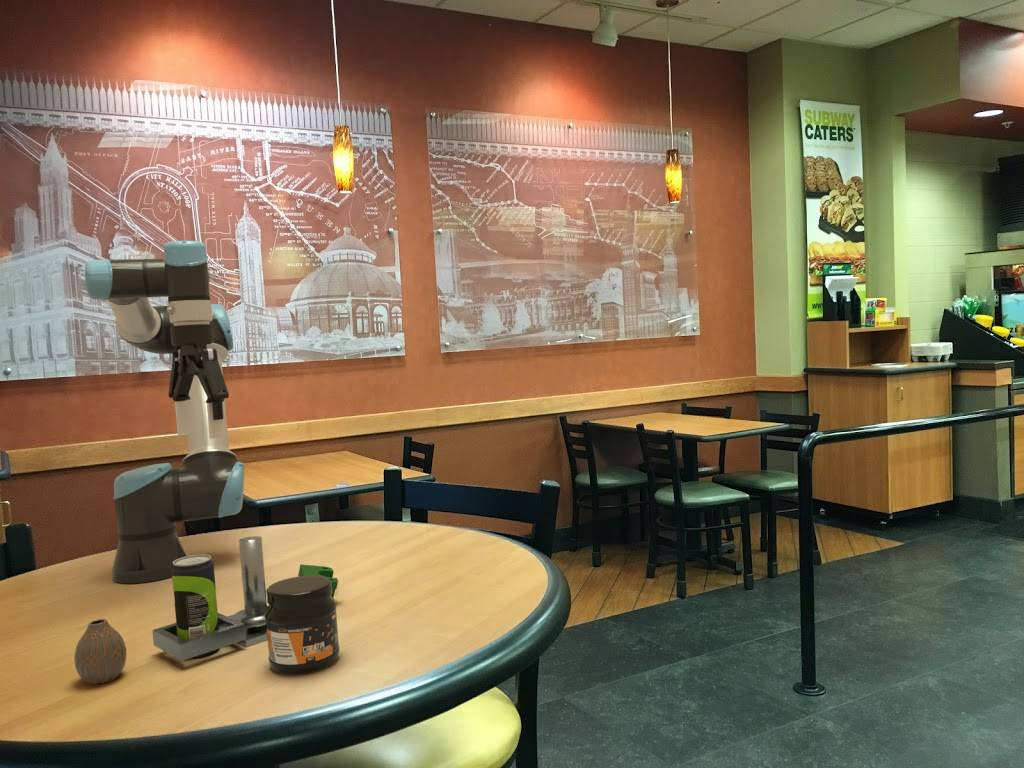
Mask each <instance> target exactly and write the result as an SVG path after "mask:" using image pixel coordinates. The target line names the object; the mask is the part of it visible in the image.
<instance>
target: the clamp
mask: <svg viewBox="0 0 1024 768" xmlns="http://www.w3.org/2000/svg"><path fill="white" fill-rule="evenodd" d="M297 575H298V576H297V577H299V576H322V577H326V578H328V579H330V580H331V583H332V595H331V596H332V597H333V598H334V597H335V591H336V590H337V589H338V584H339V579H338V577H334V569H333V568H332V567H329V566H322V565H311V564H302V563H301V564H299V570H298V574H297ZM334 599H335V598H334Z"/></svg>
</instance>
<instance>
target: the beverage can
mask: <svg viewBox="0 0 1024 768" xmlns="http://www.w3.org/2000/svg"><path fill="white" fill-rule="evenodd" d="M173 565H174V567H173V568H172V577H171V578H172V591H173V601H174V611H175V623H176V625H177V636H178V637H179V638H181V639H183V640H188V639H191V638H194V637H197V636H200V635H204V634H207V633H210V632H213V631H216V630H219V622H218V613H219V612H218V600H217V589H216V577H215V566H214V561H213V560H212V556H211V555H210V554H192V555H187V556H186V557H182V558H179V559H177V560H175V561H173ZM217 650H218V649H216V650H213V651H210V652H207V653H204V654H201V655H198V656H195V657H192V658H191V659H196V658H202V657H207V656H209V655H211V654H213V653H215V652H216V651H217Z"/></svg>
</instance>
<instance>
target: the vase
mask: <svg viewBox="0 0 1024 768" xmlns="http://www.w3.org/2000/svg"><path fill="white" fill-rule="evenodd" d="M73 661H74V666H75V671H76V673H77V675H78V676H79V678H80V679H81V680H83V681H84V682H86V683H87V684H89V683H91V684H90V685H98V684H97V683H102V684H105V683H104V682H106V683H108V681H109V682H112V681H114V680H115V679H116V678H118V676H119V675H120V674H121V673H122V671H123V670H124V668H125V665H126V661H127V647H126V643H125V640H124V638H123V636H122V635H121V633H120V632H118V631H117V630H116V628H114V627H112V626H111V624H110V622H108V620H107V619H105V618H99V619H93V620H91V621H90V622H89V623H88V625H87V627H86V629H85V631H84V633H83V634H82V636H81V637H80V639H78V642H77V644H76V646H75V651H74V660H73ZM113 679H114V680H113ZM111 680H112V681H111Z"/></svg>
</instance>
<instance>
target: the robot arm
mask: <svg viewBox="0 0 1024 768" xmlns="http://www.w3.org/2000/svg"><path fill="white" fill-rule="evenodd" d="M208 261H209V257H208V255H207V248H206V245H205V243H204V242H202V241H198V240H173V241H168V242H166V243H164V245H163V258H139V259H138V258H133V259H130V258H129V259H128V258H127V259H125V258H124V259H122V258H121V259H108V258H104V259H98V260H89V261H88V262H87V263H86V264H85V266H84V279H85V280H84V282H85V287H86V292H87V295H88V297H89V298H90V299H92V300H101V301H107V302H108V305H109V307H110V309H111V311H112V312H113V315H114V317H115V321H114V322H115V328H116V330H117V331H116V332H117V333H118V335H119V336H120V337H121V339H123V340H124V341H125V343H127V344H129V345H131V346H132V347H135V348H137V349H139V350H141V351H143V352H147V353H151V354H152V353H153V354H157V355H169V354H170V355H171V358H172V359H171V361H172V363H171V369H170V370H171V371H170V378H169V380H170V381H169V385H168V387H169V388H168V398H170V399H171V398H172V400H173V402H174V407H175V420H176V421H175V422H176V429H177V430H176V431H177V436H183V435H187V443H188V454H187V455H186V456H185V457H184V458H183V459H182V467H181V468H176V469H175V468H173V467H172V465H171V463H169V462H163V463H156V464H150V465H146V466H141V467H138V468H134V469H131V470H127V471H125V472H123V473H120V474H119V475H118V476H116V478H115V479H114V482H113V492H114V493H113V496H112V497H113V498H112V499H113V500H114V505H115V516H116V527H117V537H118V545H117V548H116V552H115V555H114V556H115V557H114V560H113V565H112V568H111V569H112V573H111V574H112V580H113V582H116V583H118V584H119V583H121V584H139V583H149V582H155V581H160V580H164V579H168V578H172V568H173V567H174V565H173V561H175V560H177V559H179V558H182V557H186V556H188V555H187V553H186V551H185V549H184V547H183V544H182V542H181V540H180V538H179V536H178V532H177V530H178V529H177V523H182V522H191V521H199V520H208V519H215V518H219V519H221V518H223V517H228V516H233V515H238V514H239V513H240V512H241V511H242V508H243V502H244V487H245V486H244V485H245V484H244V483H245V478H244V477H245V464H244V462H240V461H238V456H237V454H235V452H233V451H231V450H230V447H229V446H230V445H229V434H228V421H227V419H228V418H227V411H226V410H227V409H226V408H227V407H226V399H228V398H229V397H230V396H229V395H230V394H229V390H228V387H227V385H226V382H225V379H224V372H223V371H224V370H223V362H225V360H227V358H228V355H229V352H230V351H233V349H234V340H233V334H232V329H231V324H230V320H229V319H230V318H229V316H228V311H227V310H226V308H225V306H223V305H222V304H219V303H212V300H211V294H210V293H211V292H210V281H211V280H210V271H209V265H208ZM149 298H167V304H168V305H154V306H153V305H151V302H150V300H149Z"/></svg>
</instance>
